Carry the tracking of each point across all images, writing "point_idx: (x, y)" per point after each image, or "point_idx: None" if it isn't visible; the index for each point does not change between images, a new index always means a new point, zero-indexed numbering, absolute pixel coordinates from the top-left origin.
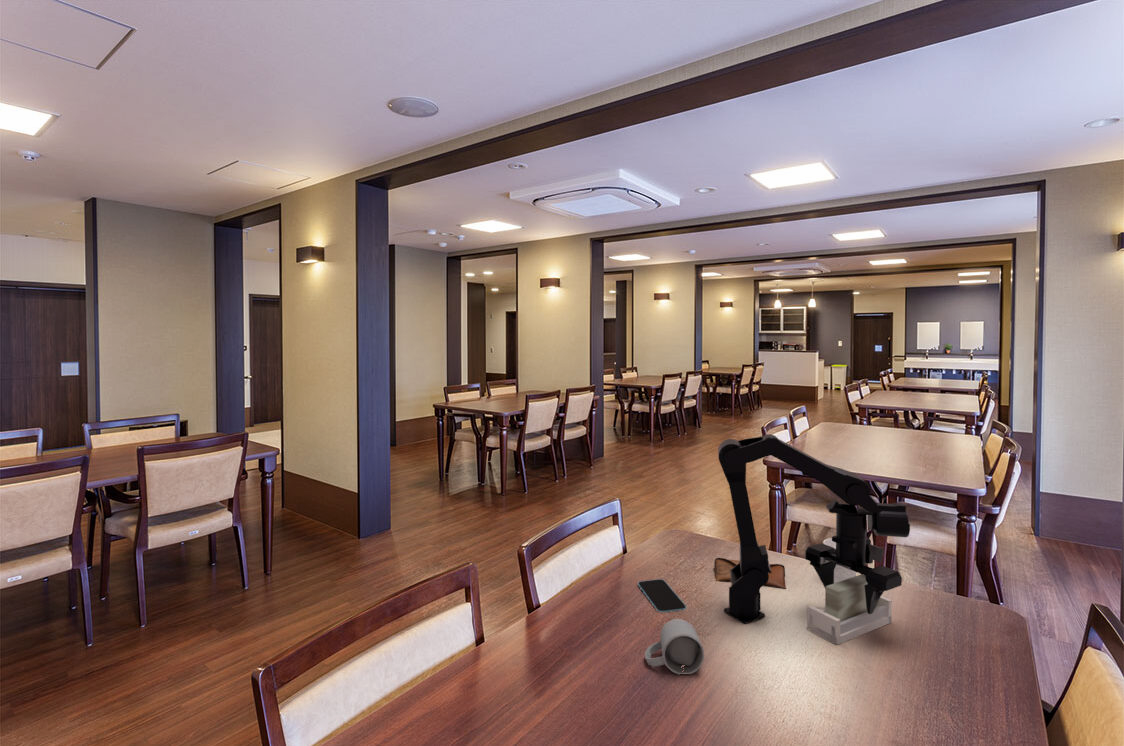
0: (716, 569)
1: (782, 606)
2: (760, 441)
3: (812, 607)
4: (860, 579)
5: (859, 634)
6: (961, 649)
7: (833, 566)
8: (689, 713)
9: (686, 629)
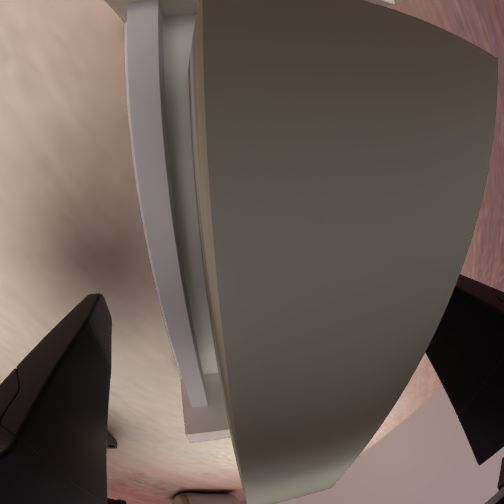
0: None
1: (21, 335)
2: None
3: (205, 436)
4: (370, 286)
5: None
6: (497, 43)
7: (3, 496)
8: None
9: None
